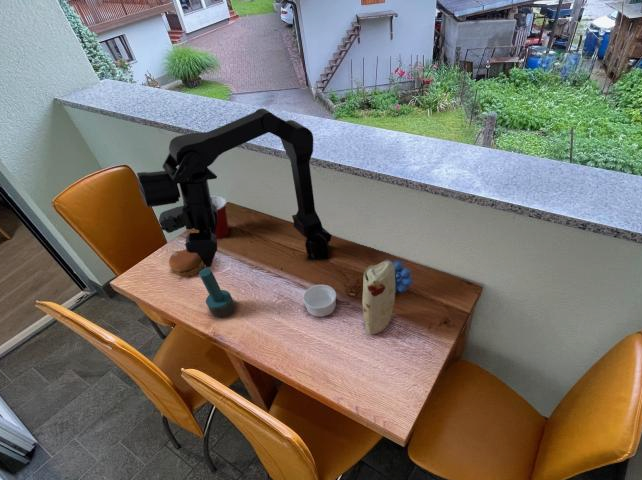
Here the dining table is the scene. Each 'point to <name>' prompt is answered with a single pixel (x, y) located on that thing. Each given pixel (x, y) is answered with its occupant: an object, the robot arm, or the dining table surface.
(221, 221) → the plastic cup
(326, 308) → the ramekin
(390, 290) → the food model
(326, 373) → the dining table surface
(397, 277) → the grapes
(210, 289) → the teal peg stand
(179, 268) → the burger
